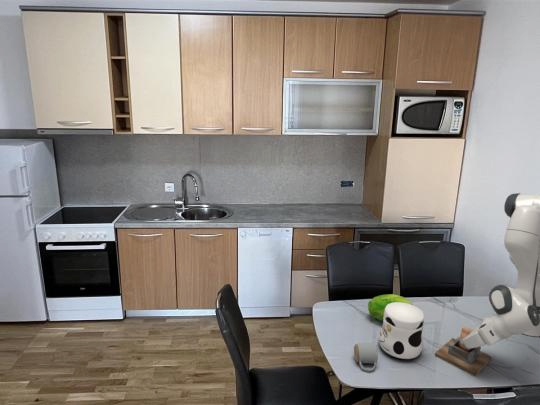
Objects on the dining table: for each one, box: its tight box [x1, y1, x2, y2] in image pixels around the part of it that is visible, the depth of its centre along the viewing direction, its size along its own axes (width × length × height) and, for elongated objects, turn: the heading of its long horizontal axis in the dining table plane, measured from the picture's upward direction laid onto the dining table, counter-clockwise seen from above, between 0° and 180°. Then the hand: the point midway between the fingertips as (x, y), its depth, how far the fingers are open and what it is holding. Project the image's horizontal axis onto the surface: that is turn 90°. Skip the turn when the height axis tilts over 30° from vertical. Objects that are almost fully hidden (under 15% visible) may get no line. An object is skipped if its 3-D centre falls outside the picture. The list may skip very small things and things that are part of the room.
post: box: [458, 327, 474, 353], centre depth 158 cm, size 4×4×10 cm
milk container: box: [378, 302, 425, 360], centre depth 161 cm, size 17×17×18 cm
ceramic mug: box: [353, 342, 379, 373], centre depth 153 cm, size 11×8×8 cm
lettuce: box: [367, 293, 413, 322], centre depth 185 cm, size 13×23×12 cm, turn 103°
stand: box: [434, 336, 492, 377], centre depth 159 cm, size 16×16×6 cm
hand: (464, 338), depth 158 cm, fingers closed on post, 4 cm apart
